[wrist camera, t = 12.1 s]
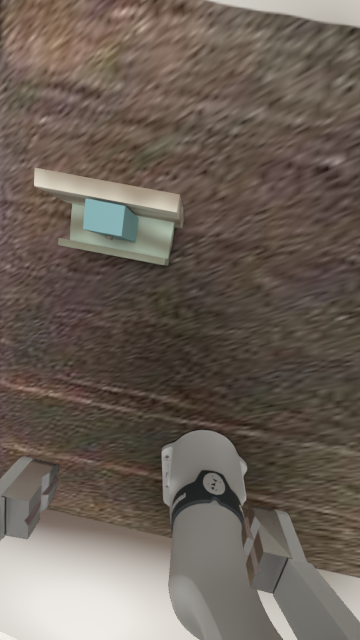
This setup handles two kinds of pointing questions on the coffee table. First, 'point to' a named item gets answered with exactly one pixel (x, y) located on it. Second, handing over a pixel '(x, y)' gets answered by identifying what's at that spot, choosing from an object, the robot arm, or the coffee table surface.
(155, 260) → the wall shelf
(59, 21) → the coffee table surface
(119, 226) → the teal rectangular block
